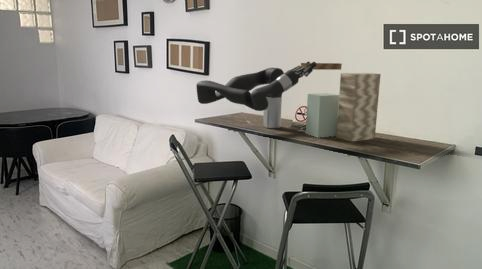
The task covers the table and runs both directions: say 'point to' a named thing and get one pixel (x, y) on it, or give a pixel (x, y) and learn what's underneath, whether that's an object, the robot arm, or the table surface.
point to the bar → (324, 66)
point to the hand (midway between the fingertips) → (312, 63)
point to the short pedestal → (322, 114)
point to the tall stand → (358, 106)
